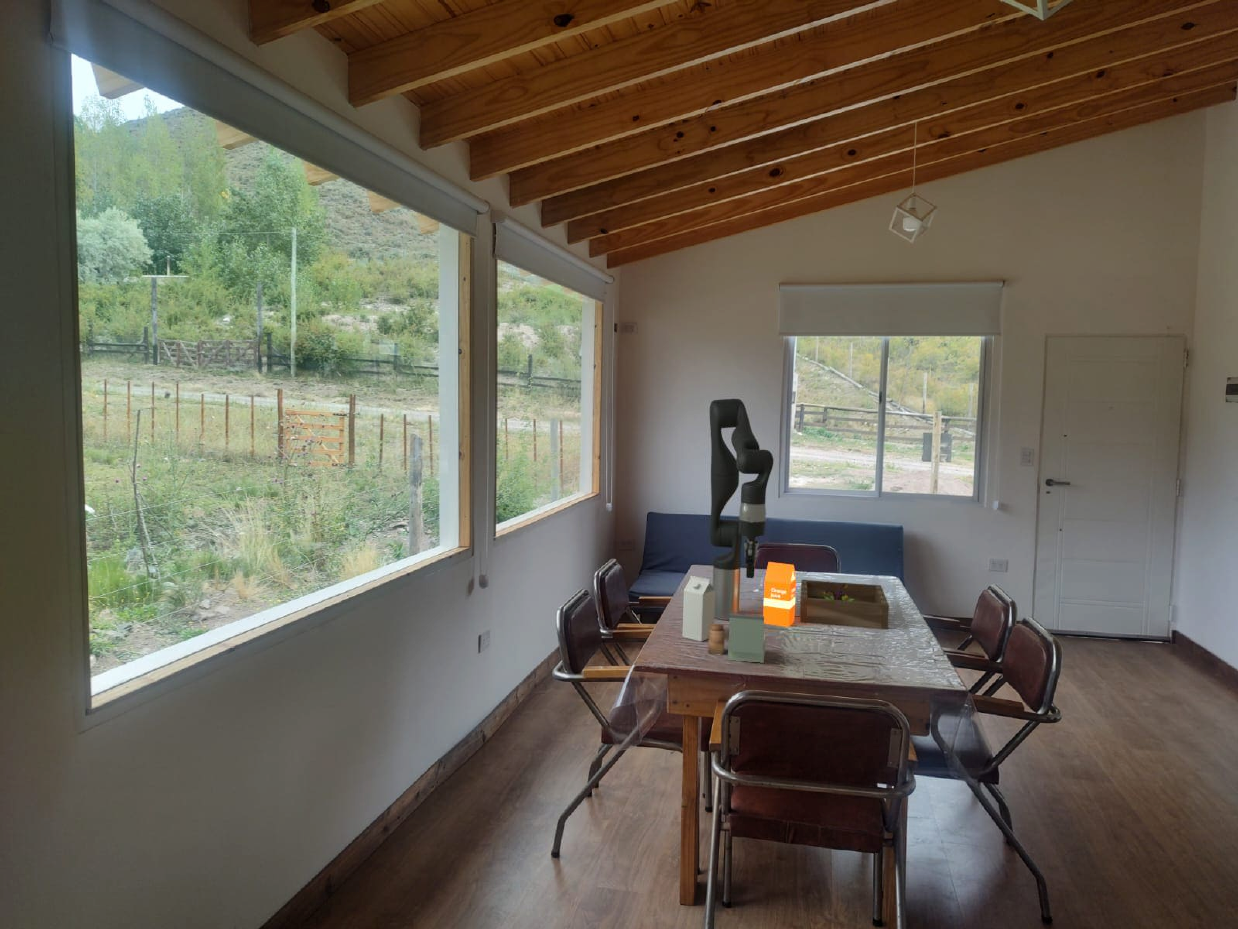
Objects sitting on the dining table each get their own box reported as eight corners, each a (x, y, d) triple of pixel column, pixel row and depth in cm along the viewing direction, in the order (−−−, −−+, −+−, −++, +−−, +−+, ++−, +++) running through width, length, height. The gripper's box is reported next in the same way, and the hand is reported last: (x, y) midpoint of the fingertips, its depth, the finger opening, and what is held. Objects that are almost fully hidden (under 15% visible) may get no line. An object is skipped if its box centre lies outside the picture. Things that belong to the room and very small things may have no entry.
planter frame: (800, 600, 296) (801, 579, 296) (879, 607, 290) (881, 585, 290) (800, 622, 269) (801, 598, 269) (887, 629, 263) (889, 605, 262)
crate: (730, 649, 240) (731, 629, 239) (764, 652, 238) (765, 632, 237) (727, 660, 230) (728, 640, 229) (763, 663, 228) (764, 643, 227)
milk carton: (695, 632, 256) (696, 573, 254) (713, 637, 251) (716, 577, 250) (682, 637, 250) (684, 577, 249) (701, 642, 246) (703, 581, 244)
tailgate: (728, 649, 229) (730, 613, 228) (763, 653, 227) (764, 616, 226) (728, 651, 228) (729, 614, 227) (762, 654, 226) (764, 617, 225)
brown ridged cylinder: (709, 649, 239) (710, 622, 239) (724, 650, 238) (725, 623, 238) (707, 654, 235) (708, 627, 234) (723, 655, 234) (724, 628, 233)
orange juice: (769, 617, 274) (771, 559, 272) (794, 621, 270) (797, 562, 269) (762, 623, 267) (764, 564, 265) (788, 627, 263) (791, 567, 262)
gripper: (741, 514, 239) (738, 571, 241) (737, 521, 226) (735, 581, 228) (766, 515, 237) (764, 573, 239) (764, 523, 224) (762, 583, 226)
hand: (750, 577), depth 233 cm, fingers closed
